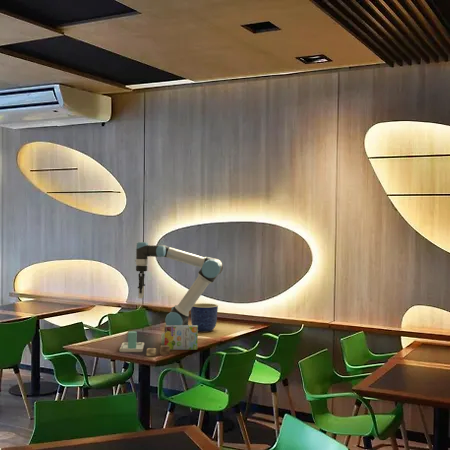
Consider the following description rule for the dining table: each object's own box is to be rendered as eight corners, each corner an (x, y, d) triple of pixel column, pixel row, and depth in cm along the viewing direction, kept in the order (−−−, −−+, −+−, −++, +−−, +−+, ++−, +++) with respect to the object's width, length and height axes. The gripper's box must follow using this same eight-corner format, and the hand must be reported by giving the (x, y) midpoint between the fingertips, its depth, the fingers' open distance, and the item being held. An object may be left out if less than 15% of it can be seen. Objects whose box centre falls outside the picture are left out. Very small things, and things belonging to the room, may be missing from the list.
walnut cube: (167, 353, 381) (167, 345, 381) (169, 354, 377) (169, 346, 377) (159, 353, 380) (159, 345, 380) (161, 355, 375) (161, 347, 375)
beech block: (156, 354, 376) (156, 348, 376) (154, 356, 372) (154, 349, 372) (148, 354, 377) (148, 347, 377) (146, 355, 373) (146, 349, 373)
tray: (144, 345, 402) (144, 342, 402) (142, 352, 382) (142, 348, 382) (122, 345, 401) (122, 342, 401) (119, 352, 381) (119, 348, 381)
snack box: (197, 348, 397) (197, 324, 397) (197, 350, 391) (197, 326, 391) (164, 347, 396) (165, 324, 396) (164, 349, 391) (164, 326, 390)
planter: (221, 332, 454) (222, 306, 454) (195, 333, 446) (195, 307, 446) (211, 327, 473) (212, 302, 473) (186, 328, 466) (186, 303, 465)
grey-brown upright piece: (170, 343, 410) (170, 333, 410) (170, 345, 404) (170, 334, 404) (161, 343, 410) (161, 333, 410) (161, 345, 404) (161, 334, 404)
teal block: (136, 346, 394) (136, 331, 394) (135, 348, 389) (136, 332, 389) (128, 346, 394) (128, 331, 394) (127, 348, 389) (128, 332, 389)
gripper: (137, 263, 423) (136, 294, 423) (134, 266, 398) (134, 299, 398) (148, 263, 423) (147, 294, 423) (146, 266, 398) (145, 299, 398)
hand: (141, 296), depth 411 cm, fingers open, 13 cm apart
